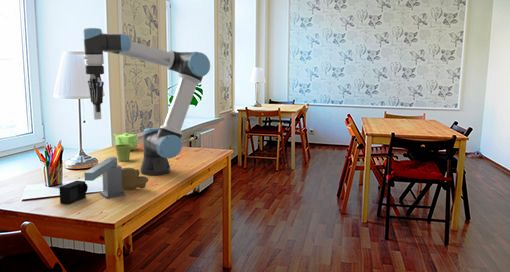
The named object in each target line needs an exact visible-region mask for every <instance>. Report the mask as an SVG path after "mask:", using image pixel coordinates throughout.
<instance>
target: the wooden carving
mask: <svg viewBox="0 0 510 272" xmlns="http://www.w3.org/2000/svg"><path fill="white" fill-rule="evenodd" d="M121 169H122V190H124V191H132V190H135V189H137V188H139V189H146V186H147V183H148V182H149V178H148V177H146V176H145V175H144V176H143V175H140V174H141V171H140V169H135V168H133V167H121Z"/></svg>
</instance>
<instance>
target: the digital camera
mask: <svg viewBox="0 0 510 272" xmlns="http://www.w3.org/2000/svg"><path fill="white" fill-rule="evenodd" d="M88 187H89V186H88V184H87V183H86V181H85V180H75V181H72V182H69V183H66V184H63V185H60V186H59V203H60V204H62V205H71V204H73V203H76V202H78V201H81V200H84V199H85V198H87V195H86V194H87V192H88Z"/></svg>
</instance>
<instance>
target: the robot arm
mask: <svg viewBox="0 0 510 272" xmlns="http://www.w3.org/2000/svg"><path fill="white" fill-rule="evenodd" d="M82 35H83V38H82V40H83V51H84V57H83V60H84V64H85V65H84V68H85V69H84V70H85V74H86V75H89V80H87V84H88V85H87V86H88V89H89V96H90V103H92V106H93V107H92V108H93V120H102V106H101V105H102V104H103V103H104V102H103V101H104V98H103V97H104V85H105V82H104V81H103V80H102V77H101V75H104V74H105V67H104V53H111V54H115V55H120V56H123V57H127V58H132V59H135V60H139V61H143V62H147V63H150V64H153V65H158V66H161V67H165V68H166V70H169V71H172V72H176V73H178V76H179V82H178V84H177V87H176V90H175V92H174V95H173V98H172V101H171V103H170V106H169V109H168V112H167V115H166V118H165V121H164V123H163V124H162V125H160V126H159V127H156V128H155V127H152V128H151V127H150V128H149V127H148V128H145V129H143V135H142V138H143V160H142V162H141V164H140V165H141V166H140V169H139V172H140V174H142V175H146V176H160V175H161V176H162V175H166V174H170V172H171V166H170V163H169V160H168V159H172V158H173V159H174V158H175V157H176V156H178V155H179V154H180V153H181V151H182V148H183V142H182V137H183V132H182V127H183V125H184V122H185V120H186V119H185V118H186V116H187V113H188V110H189V108H190V105H191V102H192V100H193V97H194V95H195V92H196V91H195V90H196V88H197V86H198V85H199V84H202V81H203V77H205V76H206V75H207V74H208V73H209V72H210V70H211V62H210V59H209V57H208V56H207V55H206V54H205V53H203V52H199V51H192V52H191V51H190V52H189V51H186V52H185V51H184V52H181V51H180V52H179V51H174V50H170V51H167V50H163V49H159V48H155V47H152V46H148V45H145V44H141V43H137V42H134V41H131V38H130V36H129V34H126V33H125V34H124V33H104V32H103V29H101V28H97V27H86V28H84V29H83V31H82Z"/></svg>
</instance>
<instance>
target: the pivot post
mask: <svg viewBox="0 0 510 272" xmlns="http://www.w3.org/2000/svg"><path fill="white" fill-rule="evenodd" d="M99 194H100V195H101V196H103V197H104V198H105V199H111V198H112V199H113V198H118V197H123V196H124V197H125V196H126V192H124V191H123V189H122V166H121V165H120V164H117V165H116V166H113V167H112V168H110V169H109V170H108V171H106V172H105V173H103V174H102V190H101V191H99Z"/></svg>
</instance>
